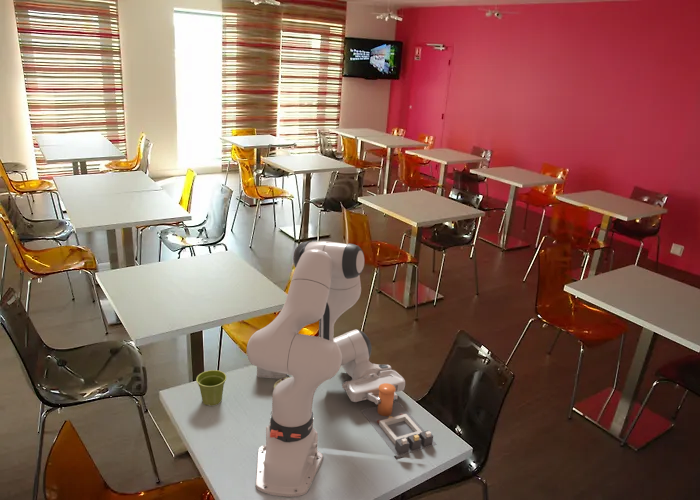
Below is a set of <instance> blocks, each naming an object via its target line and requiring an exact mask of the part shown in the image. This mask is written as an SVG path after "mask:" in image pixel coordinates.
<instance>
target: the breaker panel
mask: <svg viewBox="0 0 700 500" xmlns="http://www.w3.org/2000/svg"><path fill="white" fill-rule="evenodd" d="M377 409H378V405H376V406H372V407H368V408H364V409H362V410H361V409H360V411H361V413H362V414H363V416H364V417H365V418H366V419H367V420H368V422H369V423H370V424H371V425H372V427H373V428H374V429H375V432H376V433H378V434H379V436H380V437H381V439H382V440H383V441H384V442H385V443H386V445H387V446H388V447H389V449H390V450H391V451H392V453H393V454H394V455H393V457H394V458H395V459H396V460H401V459H403V458H404V455H408V454H411V453H414V452H418V451H421V450H423V449H427V448H430V447H433V446H436V445H437V443H436V442H435V441H434V435H433V434H432V431H429V430H425V429H423V427H422V426H421V425H420V424H419V423H418V422H417V421H416V420H415V419H414V418H413V416H412V415H411V414H410V413H409V411H407V410H406V409H405V407H404V405H403V406H402V404H401V403H400V402H399V401H398V400H394V401H393V408H392V414H391V415H390V416H381V415H380V414H378V412H377Z"/></svg>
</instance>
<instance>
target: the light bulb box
mask: <svg viewBox="0 0 700 500" xmlns="http://www.w3.org/2000/svg"><path fill="white" fill-rule="evenodd" d="M286 377H288V374H284V373H278V372H273V371H267V370H264V369H262V368H259V367H257V366H256V378H264V379H265V378H267V379H277V380H280V379H282V378H286Z"/></svg>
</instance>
